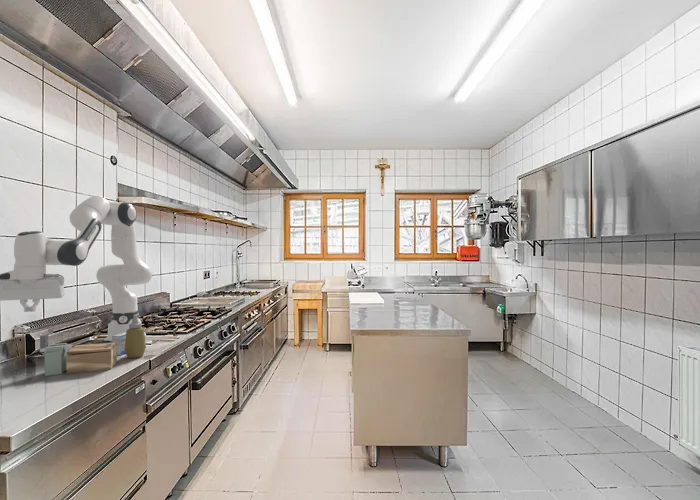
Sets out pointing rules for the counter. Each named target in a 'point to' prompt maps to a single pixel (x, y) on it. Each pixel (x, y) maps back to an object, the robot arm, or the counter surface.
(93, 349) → the lid
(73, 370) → the crate
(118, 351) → the medicine box
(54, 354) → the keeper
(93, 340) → the counter surface
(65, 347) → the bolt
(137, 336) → the squeeze bottle
